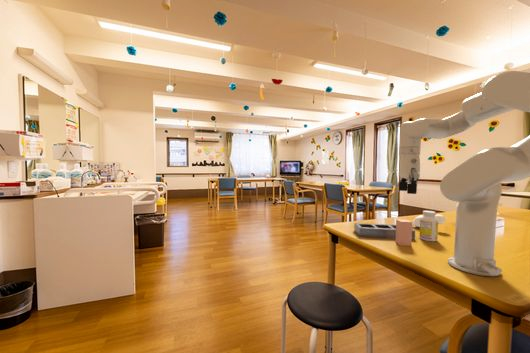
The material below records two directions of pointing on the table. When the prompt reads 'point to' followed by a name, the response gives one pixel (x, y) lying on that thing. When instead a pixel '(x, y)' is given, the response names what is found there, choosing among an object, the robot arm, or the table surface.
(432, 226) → the supplement bottle
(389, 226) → the grey compartment tray
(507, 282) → the table surface
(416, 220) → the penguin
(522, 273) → the table surface
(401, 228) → the peg
